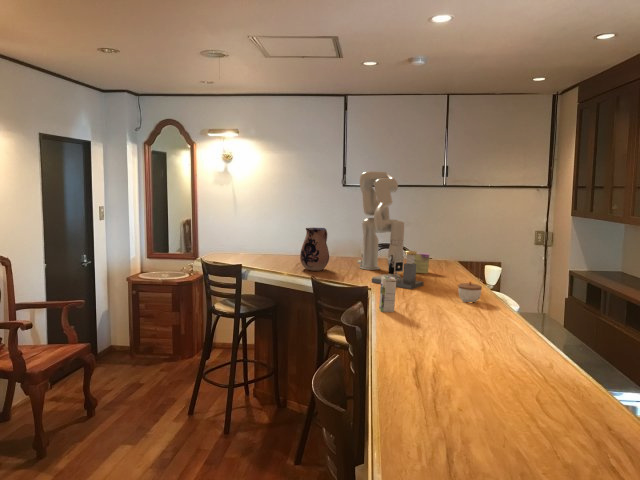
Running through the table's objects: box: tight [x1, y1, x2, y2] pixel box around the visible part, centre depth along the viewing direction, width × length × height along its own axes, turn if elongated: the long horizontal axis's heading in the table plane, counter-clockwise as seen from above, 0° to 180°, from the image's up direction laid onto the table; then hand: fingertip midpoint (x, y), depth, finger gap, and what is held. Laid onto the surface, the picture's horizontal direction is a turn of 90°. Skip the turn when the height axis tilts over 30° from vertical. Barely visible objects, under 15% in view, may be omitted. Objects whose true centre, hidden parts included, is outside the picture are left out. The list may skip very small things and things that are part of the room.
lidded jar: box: [457, 281, 483, 303], centre depth 246 cm, size 11×11×9 cm
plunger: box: [404, 250, 418, 264], centre depth 275 cm, size 6×6×12 cm
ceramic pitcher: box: [299, 227, 330, 272], centre depth 313 cm, size 18×21×25 cm
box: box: [414, 252, 430, 274], centre depth 316 cm, size 10×6×12 cm, turn 84°
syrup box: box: [378, 276, 397, 313], centre depth 224 cm, size 6×6×14 cm
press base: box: [371, 262, 424, 290], centre depth 280 cm, size 24×14×12 cm, turn 53°
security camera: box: [387, 260, 405, 277], centre depth 298 cm, size 6×7×10 cm
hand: (395, 272), depth 298 cm, fingers closed on security camera, 8 cm apart
